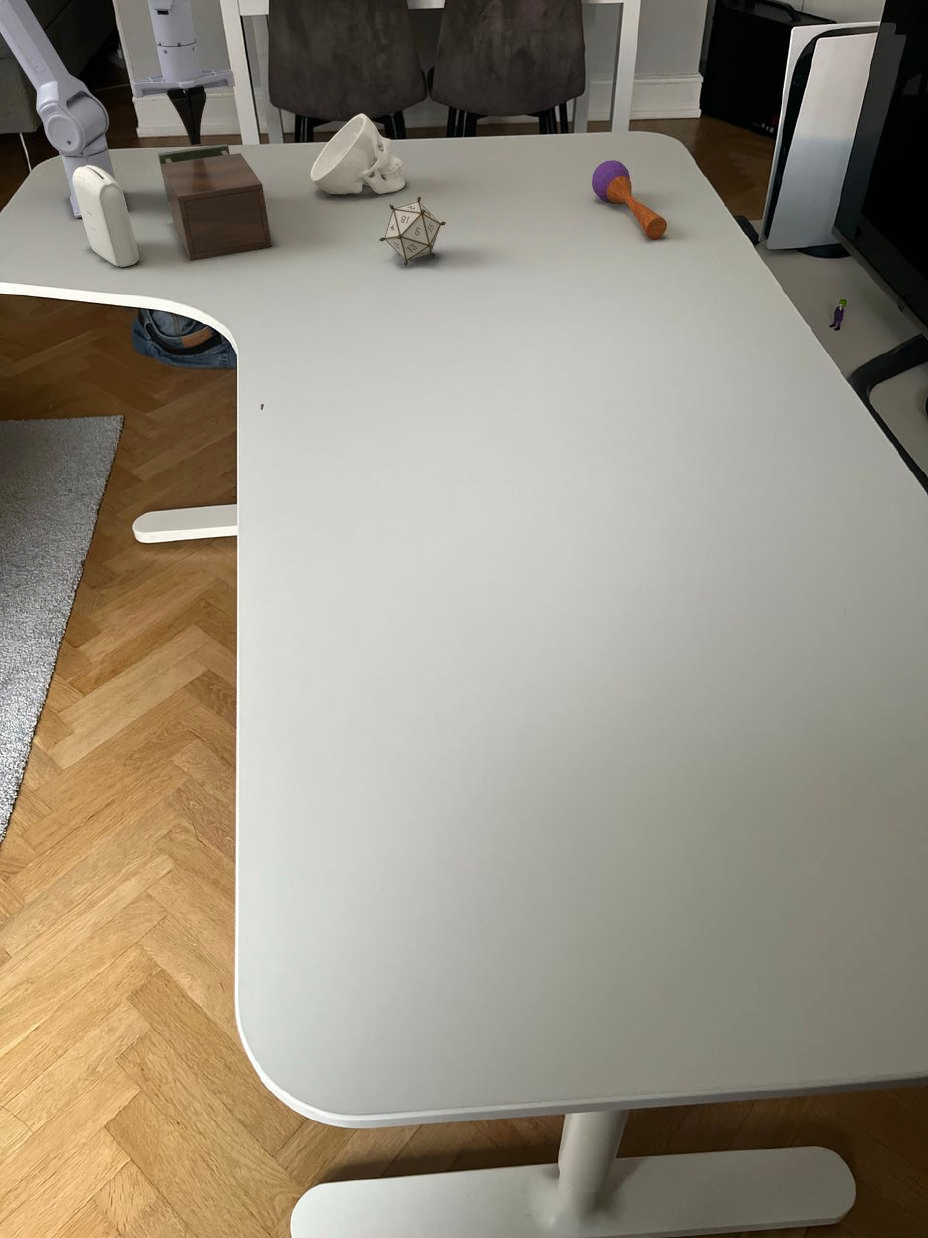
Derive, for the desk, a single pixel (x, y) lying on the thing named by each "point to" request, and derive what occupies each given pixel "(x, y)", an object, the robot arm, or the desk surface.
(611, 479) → the desk surface
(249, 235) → the cabinet
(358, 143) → the skull bowl
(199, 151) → the drawer
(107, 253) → the photo printer
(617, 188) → the purple and orange maraca
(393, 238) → the game die
